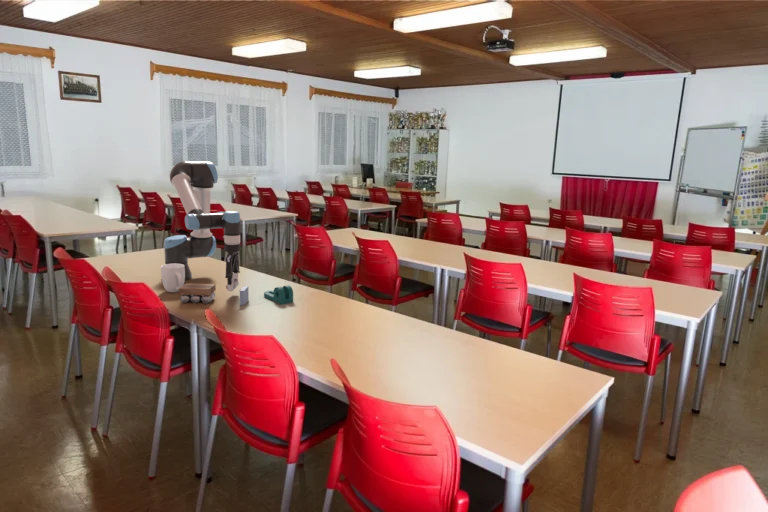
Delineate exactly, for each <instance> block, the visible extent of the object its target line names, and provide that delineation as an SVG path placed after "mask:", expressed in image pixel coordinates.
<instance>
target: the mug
mask: <svg viewBox="0 0 768 512" xmlns="http://www.w3.org/2000/svg"><path fill="white" fill-rule="evenodd" d="M160 273H161V282H162V285H163V287H164V289H165V291H166V292H167V293H179V288H180V287H182V286H183V285H185V281H186V280H185V266H184V265H183V264H176V263H173V264H165V263H164V264H162V265H161V266H160Z"/></svg>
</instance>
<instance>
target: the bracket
mask: <svg viewBox="0 0 768 512" xmlns="http://www.w3.org/2000/svg"><path fill="white" fill-rule="evenodd" d="M263 298H265V299H266V300H267V299H268V300H270V301H273V302H274V303H276V304H278V303H279V305H281V306H282V305H286V304H292V303H294V291H293V288H292V286H291V285H289V284H287V285H284V286H277V287H274V289H273V290H266V291H263Z"/></svg>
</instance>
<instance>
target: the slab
mask: <svg viewBox="0 0 768 512" xmlns="http://www.w3.org/2000/svg"><path fill="white" fill-rule="evenodd" d="M215 291H216V284H213V283H212V284H211V283H184V285H183V286H182V287H180V288H179V292H178V294H179V295H181V296H182V295H211V294H212V293H213V292H214V293H215Z"/></svg>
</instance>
